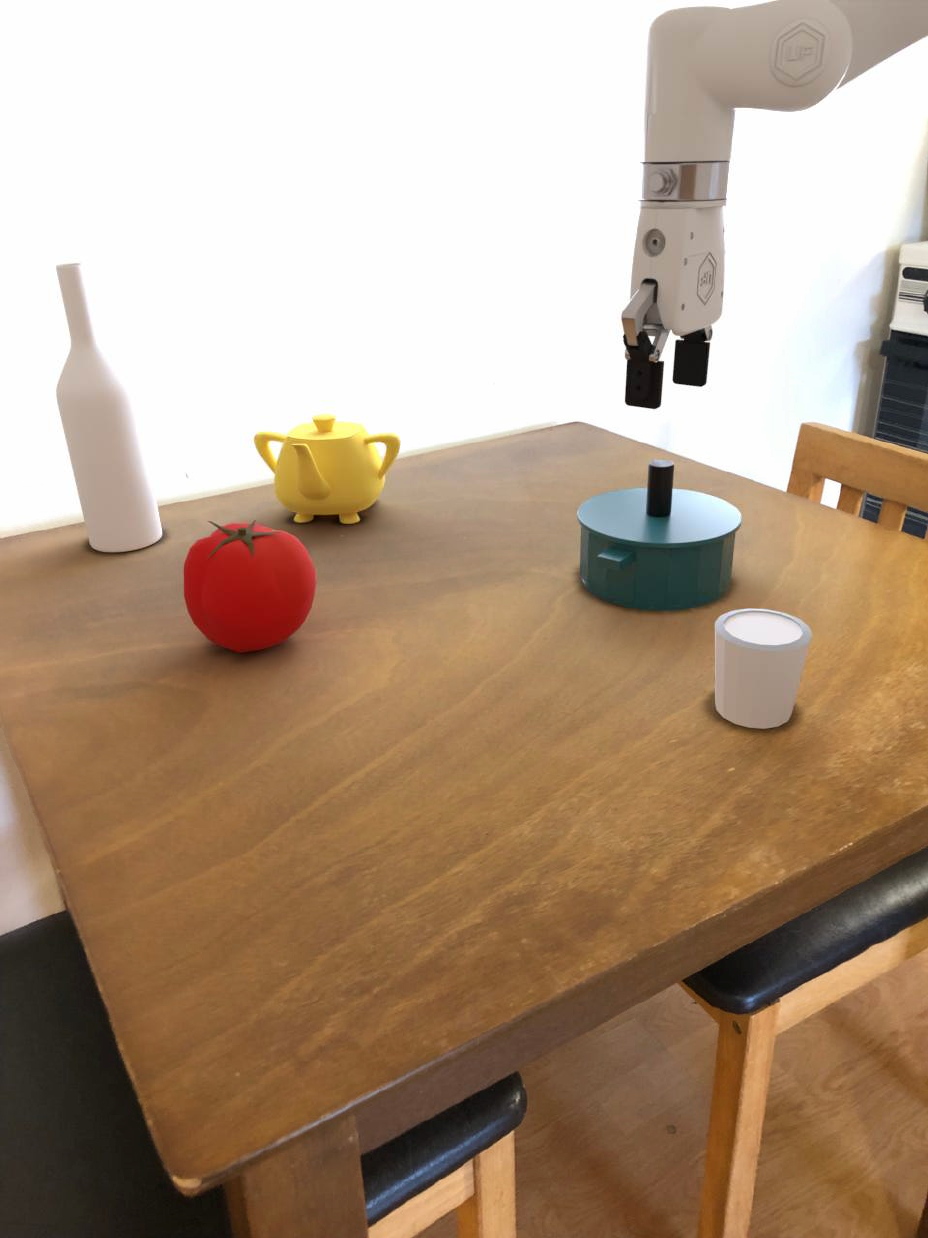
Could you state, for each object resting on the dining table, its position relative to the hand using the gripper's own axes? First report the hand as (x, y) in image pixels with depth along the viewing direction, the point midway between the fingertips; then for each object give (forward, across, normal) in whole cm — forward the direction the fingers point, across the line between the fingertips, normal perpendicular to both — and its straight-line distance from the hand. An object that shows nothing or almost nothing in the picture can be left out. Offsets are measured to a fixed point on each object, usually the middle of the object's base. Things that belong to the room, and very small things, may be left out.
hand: (666, 395), depth 84 cm
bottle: (+20, -21, +56) cm, 63 cm away
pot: (+19, +1, 0) cm, 19 cm away
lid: (+12, +1, 0) cm, 12 cm away
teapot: (+19, -3, +41) cm, 46 cm away
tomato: (+19, -30, +24) cm, 43 cm away
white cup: (+19, -17, -17) cm, 30 cm away
